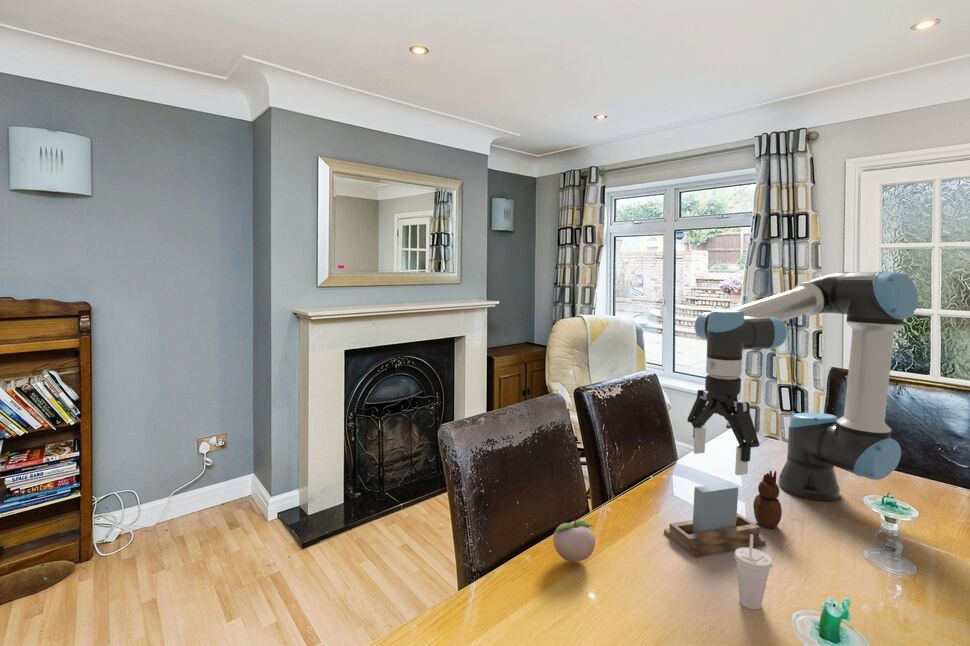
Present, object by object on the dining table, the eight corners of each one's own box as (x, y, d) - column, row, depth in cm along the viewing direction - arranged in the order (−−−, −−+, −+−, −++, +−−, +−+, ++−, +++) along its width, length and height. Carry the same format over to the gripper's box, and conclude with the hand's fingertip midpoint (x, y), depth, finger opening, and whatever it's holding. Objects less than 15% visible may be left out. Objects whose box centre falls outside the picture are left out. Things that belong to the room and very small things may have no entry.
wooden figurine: (784, 532, 121) (788, 474, 119) (758, 530, 122) (762, 472, 120) (773, 519, 127) (777, 464, 126) (749, 517, 129) (753, 462, 127)
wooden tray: (730, 522, 126) (731, 509, 125) (765, 544, 115) (766, 531, 115) (664, 532, 120) (664, 519, 120) (694, 557, 110) (695, 543, 109)
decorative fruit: (569, 579, 102) (570, 533, 101) (546, 558, 109) (547, 516, 108) (603, 566, 106) (605, 523, 105) (580, 548, 113) (581, 507, 112)
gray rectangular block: (726, 528, 120) (728, 482, 119) (735, 534, 118) (738, 487, 116) (692, 534, 118) (694, 486, 117) (700, 540, 115) (703, 492, 114)
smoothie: (725, 593, 98) (728, 526, 96) (755, 591, 98) (759, 525, 97) (744, 615, 91) (749, 544, 90) (777, 613, 92) (781, 543, 90)
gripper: (674, 366, 125) (671, 446, 127) (753, 388, 101) (747, 486, 103) (699, 365, 127) (695, 443, 129) (781, 386, 103) (775, 482, 106)
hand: (718, 463), depth 116 cm, fingers open, 13 cm apart
